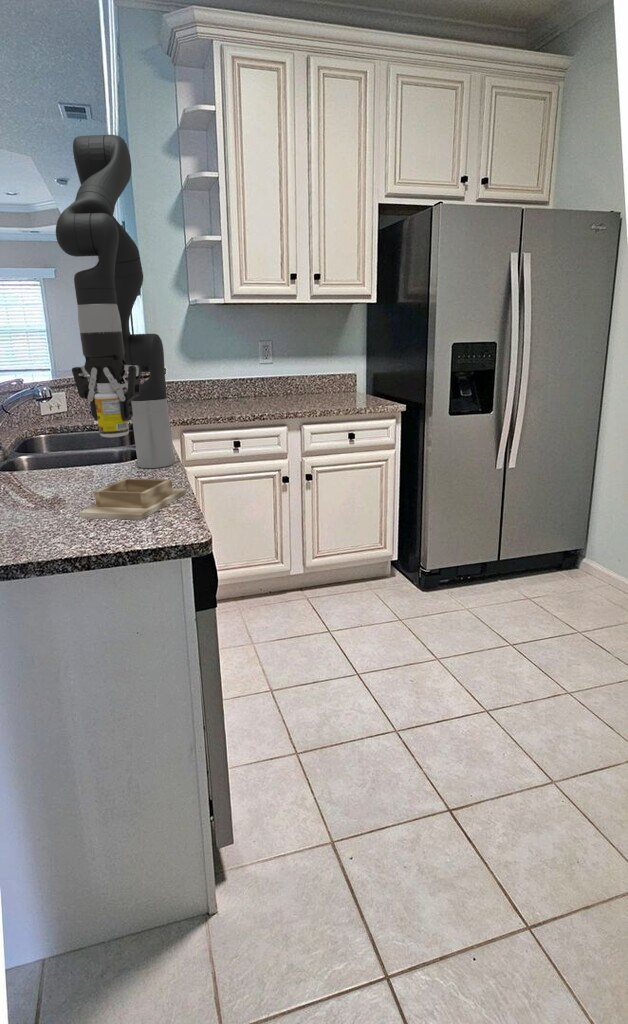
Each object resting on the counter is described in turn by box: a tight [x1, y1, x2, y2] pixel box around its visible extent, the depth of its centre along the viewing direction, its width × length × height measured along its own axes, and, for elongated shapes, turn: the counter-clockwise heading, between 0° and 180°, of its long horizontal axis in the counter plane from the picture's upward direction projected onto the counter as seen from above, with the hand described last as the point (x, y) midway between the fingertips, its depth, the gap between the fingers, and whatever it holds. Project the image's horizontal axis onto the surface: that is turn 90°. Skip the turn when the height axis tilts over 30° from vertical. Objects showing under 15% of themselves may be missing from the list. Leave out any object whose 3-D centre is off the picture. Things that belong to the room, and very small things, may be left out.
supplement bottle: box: [94, 383, 130, 438], centre depth 119 cm, size 6×6×10 cm
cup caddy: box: [79, 478, 187, 521], centre depth 124 cm, size 19×13×4 cm
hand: (112, 419), depth 120 cm, fingers closed on supplement bottle, 5 cm apart
